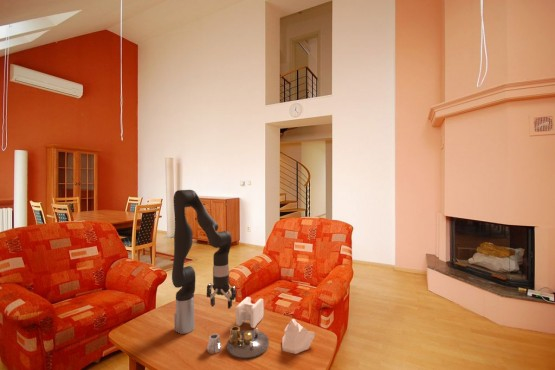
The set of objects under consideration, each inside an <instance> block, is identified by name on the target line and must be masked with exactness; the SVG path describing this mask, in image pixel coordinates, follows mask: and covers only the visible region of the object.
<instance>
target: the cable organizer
mask: <svg viewBox="0 0 555 370" xmlns="http://www.w3.org/2000/svg"><path fill="white" fill-rule="evenodd" d="M264 313H265V312H264V299H263V298H259V299H257V301H256V302H255V303H252V298H251V297H250V296H246V297H245V298H244V299H243V300H242V301H241V302H239V304H238V305H236V307H235V316H236V317H235V323H236V325H235V326H239V327H241V326H242V325H243V324H246V321H249V324H250V327H251V328H253V329H255V328H257V327H256V326H258V324H259V323H260V321H261V320H262V319H263V318H264Z"/></svg>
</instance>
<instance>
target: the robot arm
mask: <svg viewBox="0 0 555 370" xmlns="http://www.w3.org/2000/svg"><path fill="white" fill-rule="evenodd" d="M172 201H173V214H174V236H173V238H174V239H173V242H174V243H173V246H174V247H173V248H174V249H173V263H172V270H171V271H172V272H171V282H172V285H173V287H174V288H177V289H179V290H177V292H176V293H175V312H174V317H173V318H174V320H173V321H174V332H175V331H176V332H175V333H177V332H178V334H179V333H180V335H185V334H189V333H191V332H192V331H194V329H195V292H196V270H195V269H194V267H192V265H191V266H190V265H187V266H185V261H186V258H187V256H188V255H189V252H190V250H191V248H192V246H193V242H194V241H193V240H194V239H193V237H194V233H193V231H194V230H193V228H192V227H191V225H190V223H189V221H188V220H187V217H186V211H185V210H186V208H190V207H191V208H192V209H193V210H194V211H195V212H196V221H197V223H198V225H199V227H200V228H201V229H202V230H203V232H204V233H205V234H206V235H205V236H206V238H207V240H208V242H209V244H210V246H212V247H213V248H214V249H217V248H218V249H217V251H215V252H214V253H213V259H212V260H213V267H212V282H210V283H208V284H207V286H206V297H207V298H209V300H210V306H211V307H213V308H214V306H215V305H216V298H215V297H216V295H218V296H224V298H225V299H227V309H231V308H232V306H233V301H234V300H235V299H236V298H237V293H236V291H237V290H236V289H237V288H236V286H235V285H233V286H232V285H231V286H230V267H229V266H230V265H229V253H230V251H231V250H230V249H231V246H232V242H233V239H232V234H231V233H230V232H229V231H228V230H222V231H218V230H219V224H218V222H216V220H215V219H214V218H213V217H212V216H211V214H209V212H208V210H207V208H206V207H205V205H204V204H203V202H202V201H201V199H200V196H199V195H198V193H197V192H196V191H195V190H193V189H178V190H176V191H175V192H174V194H173V200H172ZM212 290H213V292H212Z"/></svg>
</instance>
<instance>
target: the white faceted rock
mask: <svg viewBox="0 0 555 370" xmlns="http://www.w3.org/2000/svg"><path fill="white" fill-rule="evenodd" d="M283 332H284V335H283V336H282V338H281V341H282V345H281V346H282V347H281V349H282V351H283V352H286V353H291V354H295V355H297V354H299V353H301V352H304V351H306V350H309V349H310V347H311V345H312V342H313V340H314V338H315V336H316V334H315V331H308V330H307V328H306V327H305V326H302V325H301V324H300V323H298V322H297V320H296V319H295V318H292V319H290V320H289V323H288V324H287V325H286V326H285V329H284V330H283Z"/></svg>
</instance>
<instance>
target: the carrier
mask: <svg viewBox="0 0 555 370" xmlns="http://www.w3.org/2000/svg"><path fill="white" fill-rule="evenodd" d="M240 335H242V342H241V343H240V344H238V345H234V344H233V345H231V344H229V339H228V340H227V342H226V351H227V352H228V354H230V355H231V357H234V358H236V359H242V360H249V359H255V358H258V357H260V356H261V355H263V354H264V353H265V352H266V351H267V350H268V348H269V345H270V343H269V337H268V336H267V335H266V334H265V333H263V332H262V331H261V330H260V331H259V328H258V327H255V328H254V330H253V329H246V330H242V331H241V330H240Z"/></svg>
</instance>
